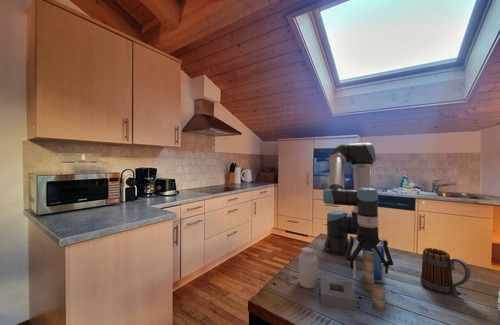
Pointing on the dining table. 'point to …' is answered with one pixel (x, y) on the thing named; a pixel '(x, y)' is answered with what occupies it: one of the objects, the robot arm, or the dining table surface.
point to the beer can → (377, 262)
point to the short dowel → (378, 297)
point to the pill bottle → (308, 268)
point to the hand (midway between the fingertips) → (368, 278)
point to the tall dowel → (368, 270)
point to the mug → (441, 271)
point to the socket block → (337, 294)
